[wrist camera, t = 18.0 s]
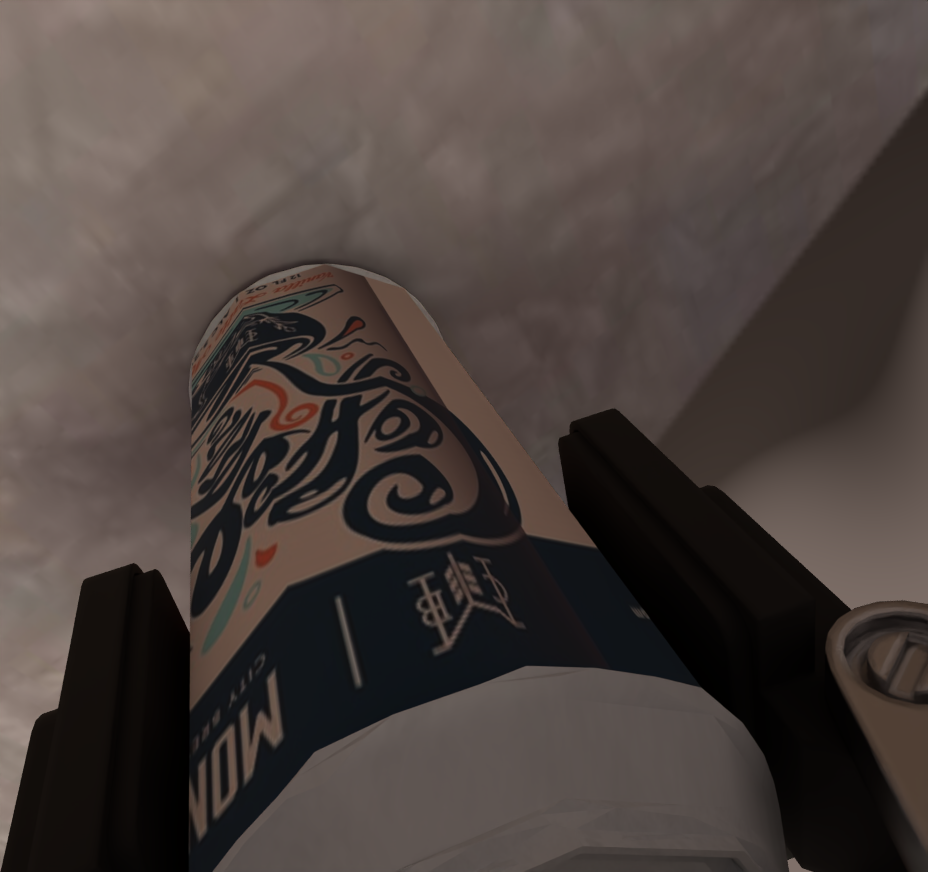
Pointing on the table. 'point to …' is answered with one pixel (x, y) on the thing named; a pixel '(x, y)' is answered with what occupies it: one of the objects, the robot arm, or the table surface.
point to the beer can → (422, 626)
